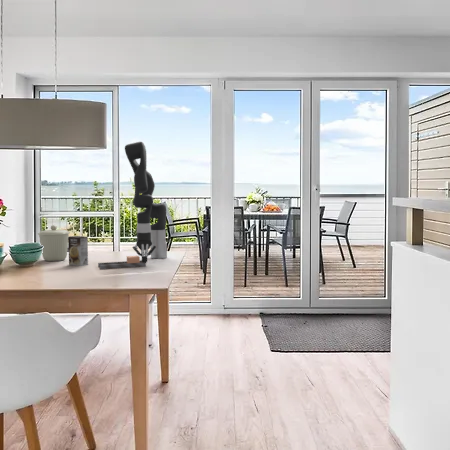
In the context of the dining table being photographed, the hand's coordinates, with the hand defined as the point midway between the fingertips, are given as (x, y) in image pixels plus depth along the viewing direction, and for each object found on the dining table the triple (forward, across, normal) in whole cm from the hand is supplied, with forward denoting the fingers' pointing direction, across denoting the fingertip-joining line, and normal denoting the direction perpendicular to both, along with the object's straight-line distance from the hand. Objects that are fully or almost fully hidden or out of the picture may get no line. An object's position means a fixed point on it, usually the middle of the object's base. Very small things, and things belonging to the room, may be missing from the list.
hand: (144, 263), depth 276 cm
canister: (+2, +45, -48) cm, 65 cm away
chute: (+2, +12, 0) cm, 12 cm away
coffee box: (+2, +33, -23) cm, 40 cm away
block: (+1, +6, 0) cm, 6 cm away
